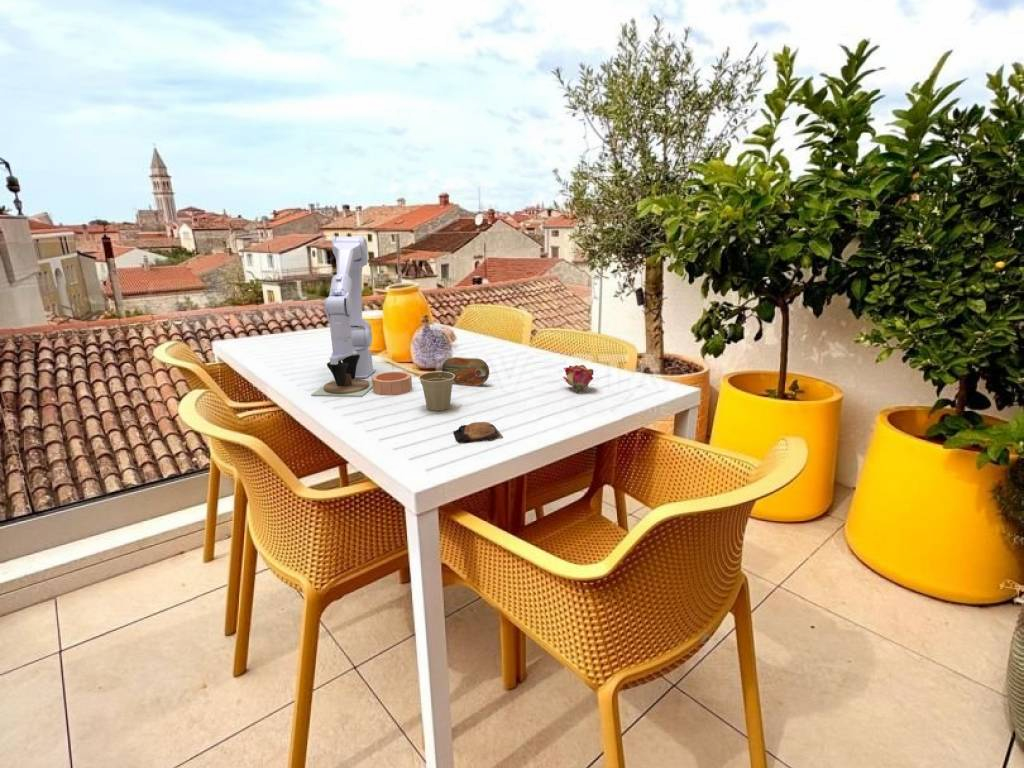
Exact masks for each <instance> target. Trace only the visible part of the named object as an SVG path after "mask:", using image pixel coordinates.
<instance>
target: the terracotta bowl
mask: <svg viewBox="0 0 1024 768" xmlns="http://www.w3.org/2000/svg"><path fill="white" fill-rule="evenodd" d="M371 381H372V384H373V388H372V391H373V392H374V394H377V395H380V396H395V395H402V394H406V393H408V392H409V393H410V391H411V390H412V389H413V382H412V374H410V373H409V372H406V371H385V372H379V373H377V374H374V375H373V376H372V377H371Z"/></svg>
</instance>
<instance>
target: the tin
mask: <svg viewBox="0 0 1024 768" xmlns="http://www.w3.org/2000/svg"><path fill="white" fill-rule="evenodd" d="M441 371H442V372H449V373H453V374H454V375H455V378H454V380H453V383H452V385H458V386H470V387H479V386H482V385H483V384H485V383H486V381H488V379H489V377H490V368H489V365H488V364H487V362H486V361H485V360H483V359H481V358H477V357H476V358H475V357H461V356H454V357H450V358H447V359H446V360H445V361H444V362H443V364H442V366H441Z"/></svg>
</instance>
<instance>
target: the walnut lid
mask: <svg viewBox="0 0 1024 768" xmlns="http://www.w3.org/2000/svg"><path fill="white" fill-rule="evenodd" d="M331 381H332V380H331ZM331 381H329V382H327V383H325V384H324V385H323V386H324V391H325V392H327V393H332V394H348V393H355V392H359V391H362V390H365V389H367V388H368V387H369V382H368V381H369V380H367V381H366V380H365V379H364V378H355V379H351V374H346V382H345V386H337V384H336V381H332V382H331Z"/></svg>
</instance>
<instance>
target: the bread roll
mask: <svg viewBox="0 0 1024 768" xmlns="http://www.w3.org/2000/svg"><path fill="white" fill-rule="evenodd" d="M452 434H453V437H454V440H455V441H456V442H457V443H458V444H459V445H464V444H465V445H466V444H473V443H475V444H476V443H481V442H489V441H494V440H500V439H503V438H504V436H503V434H502V433H501V432H500V430H498V428H497V427H496V426H495V425H494V424H492V423H490V422H488V421H476V422H470V423H469V424H463V425H460V426H459V427H458V428H457V429H456V430H453V432H452Z"/></svg>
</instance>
